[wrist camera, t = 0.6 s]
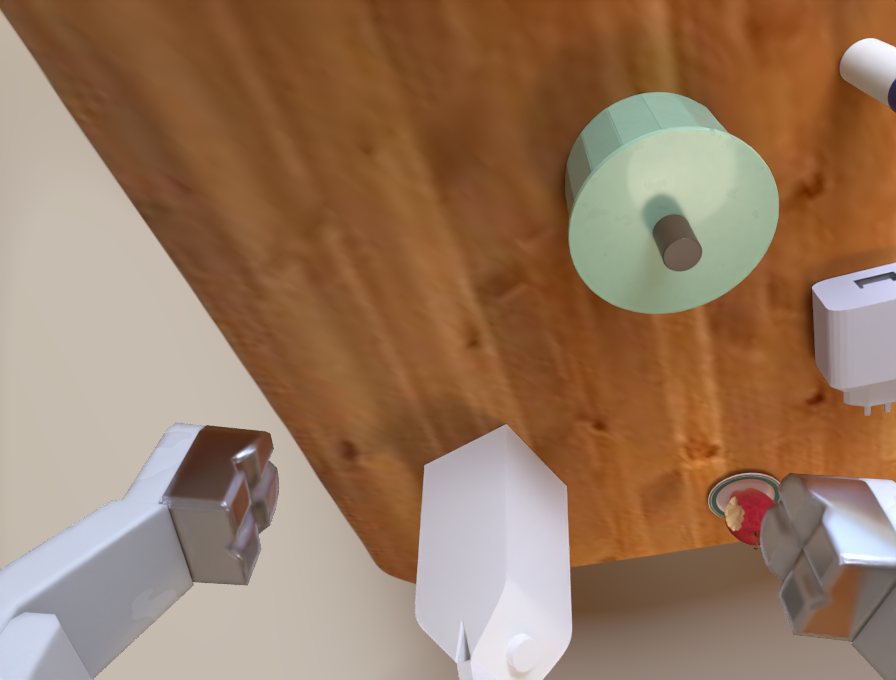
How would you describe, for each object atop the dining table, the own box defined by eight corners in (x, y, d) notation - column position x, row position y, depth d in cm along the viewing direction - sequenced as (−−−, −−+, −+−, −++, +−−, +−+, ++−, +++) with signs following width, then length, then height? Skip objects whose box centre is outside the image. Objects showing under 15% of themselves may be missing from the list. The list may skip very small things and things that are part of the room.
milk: (424, 465, 73) (391, 702, 52) (506, 423, 68) (506, 667, 47) (486, 521, 78) (479, 758, 57) (566, 486, 73) (590, 731, 52)
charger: (814, 405, 63) (808, 283, 55) (918, 385, 61) (927, 254, 53) (834, 439, 60) (830, 313, 52) (946, 419, 57) (960, 283, 49)
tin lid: (574, 125, 40) (580, 151, 36) (797, 120, 39) (829, 146, 35) (561, 305, 48) (566, 341, 44) (746, 305, 47) (768, 343, 43)
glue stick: (846, 38, 44) (909, 67, 37) (893, 36, 44) (965, 66, 37) (832, 84, 46) (889, 121, 39) (877, 83, 46) (943, 120, 39)
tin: (570, 94, 48) (582, 136, 40) (744, 89, 46) (790, 131, 39) (560, 244, 55) (569, 304, 47) (710, 243, 54) (744, 304, 46)
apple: (710, 521, 75) (726, 570, 70) (703, 476, 70) (718, 525, 65) (783, 510, 73) (805, 560, 68) (780, 464, 68) (802, 512, 63)
